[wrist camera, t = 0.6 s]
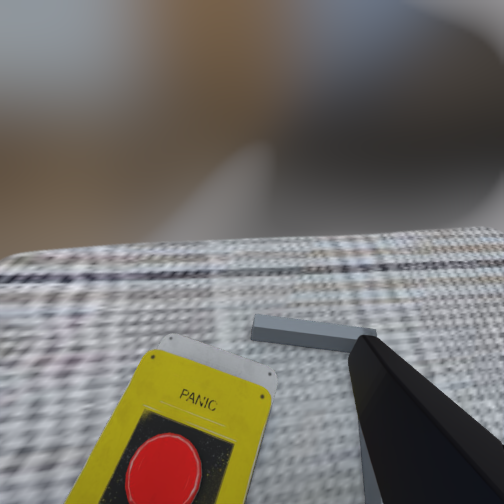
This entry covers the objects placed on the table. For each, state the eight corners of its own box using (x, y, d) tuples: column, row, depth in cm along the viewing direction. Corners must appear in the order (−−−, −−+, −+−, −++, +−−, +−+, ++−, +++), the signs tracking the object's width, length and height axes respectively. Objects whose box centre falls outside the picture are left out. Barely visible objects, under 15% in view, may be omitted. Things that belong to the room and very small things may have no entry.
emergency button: (-9, 606, 14) (159, 306, 23) (36, 585, 18) (167, 332, 27) (195, 708, 13) (290, 352, 22) (200, 665, 17) (280, 373, 25)
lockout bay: (417, 739, 15) (465, 794, 12) (212, 715, 15) (210, 765, 12) (370, 343, 27) (389, 323, 24) (252, 327, 27) (256, 306, 24)
